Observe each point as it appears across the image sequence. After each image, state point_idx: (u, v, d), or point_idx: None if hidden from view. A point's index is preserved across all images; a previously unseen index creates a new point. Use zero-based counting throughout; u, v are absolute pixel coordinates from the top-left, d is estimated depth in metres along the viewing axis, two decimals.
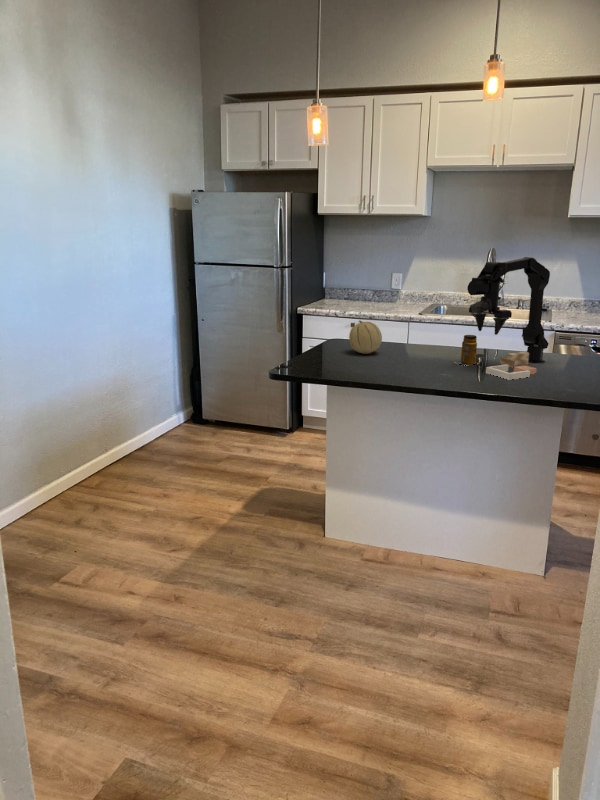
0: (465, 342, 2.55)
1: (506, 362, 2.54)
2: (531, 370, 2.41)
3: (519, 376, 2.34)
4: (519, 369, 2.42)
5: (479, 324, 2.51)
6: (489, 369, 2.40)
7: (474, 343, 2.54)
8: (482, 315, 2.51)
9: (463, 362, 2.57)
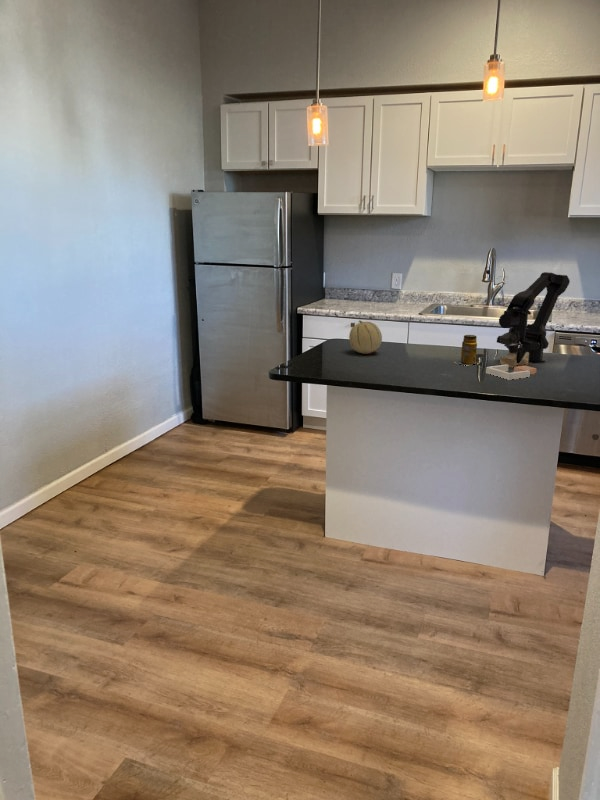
0: (465, 342, 2.55)
1: (506, 362, 2.54)
2: (531, 370, 2.40)
3: (519, 376, 2.34)
4: (519, 369, 2.42)
5: None
6: (489, 369, 2.40)
7: (474, 343, 2.54)
8: (515, 346, 2.57)
9: (463, 362, 2.57)
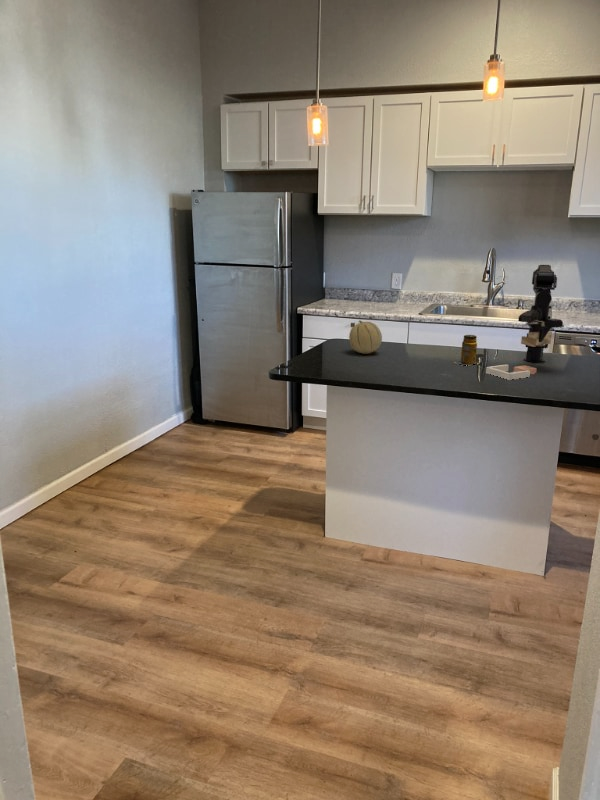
0: (465, 342, 2.55)
1: (527, 341, 2.46)
2: (531, 370, 2.40)
3: (519, 376, 2.34)
4: (519, 369, 2.42)
5: None
6: (489, 369, 2.40)
7: (474, 343, 2.54)
8: (537, 325, 2.48)
9: (463, 362, 2.57)
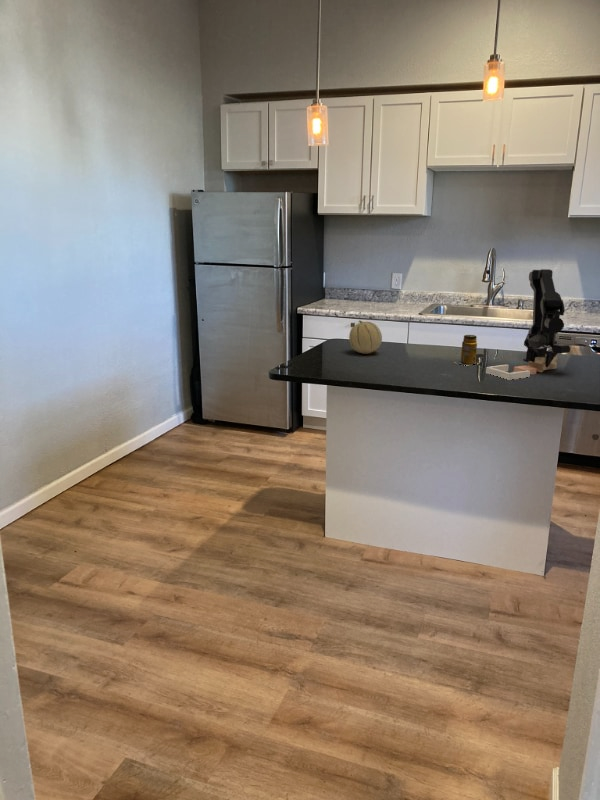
0: (465, 342, 2.55)
1: (534, 366, 2.45)
2: (531, 370, 2.40)
3: (519, 376, 2.34)
4: (519, 369, 2.42)
5: None
6: (489, 369, 2.40)
7: (474, 343, 2.54)
8: (544, 350, 2.48)
9: (463, 362, 2.57)
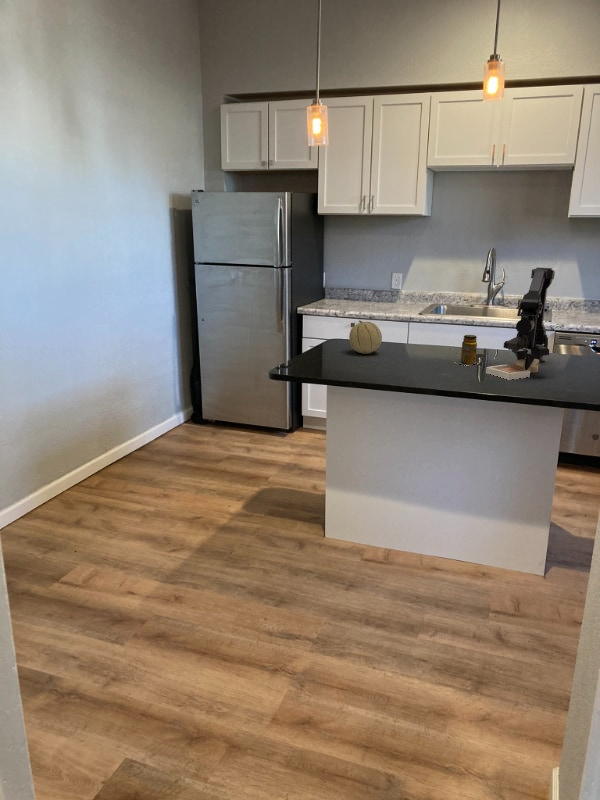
0: (465, 342, 2.55)
1: None
2: None
3: (519, 376, 2.34)
4: None
5: None
6: (489, 369, 2.40)
7: (474, 343, 2.54)
8: (523, 352, 2.43)
9: (463, 362, 2.57)
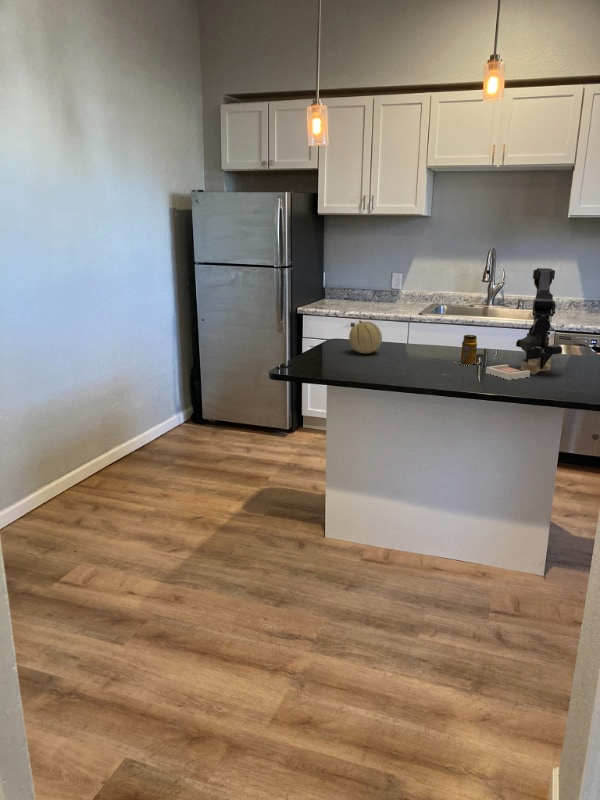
0: (465, 342, 2.55)
1: (527, 368, 2.44)
2: None
3: (519, 376, 2.34)
4: None
5: None
6: (489, 369, 2.40)
7: (474, 343, 2.54)
8: (533, 350, 2.47)
9: (463, 362, 2.57)
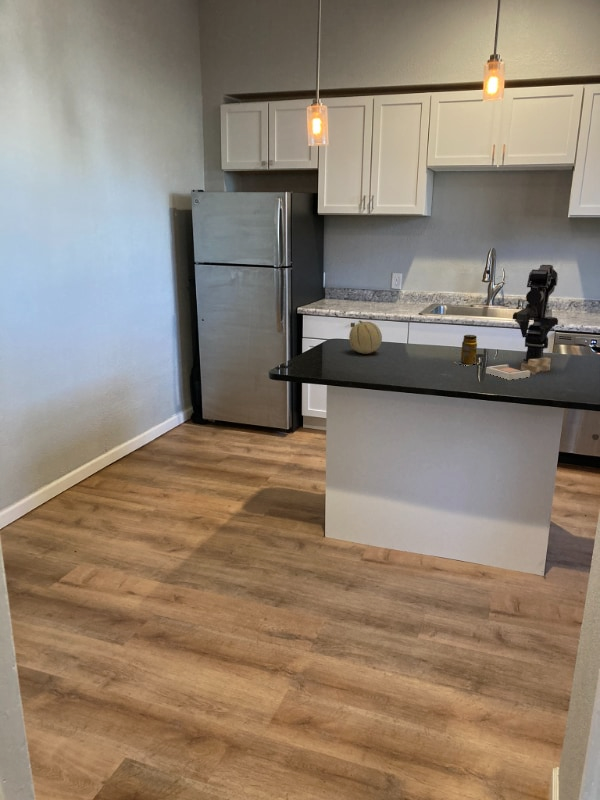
0: (465, 342, 2.55)
1: (527, 368, 2.44)
2: None
3: (519, 376, 2.34)
4: None
5: (523, 331, 2.53)
6: (489, 369, 2.40)
7: (474, 343, 2.54)
8: (526, 322, 2.53)
9: (463, 362, 2.57)
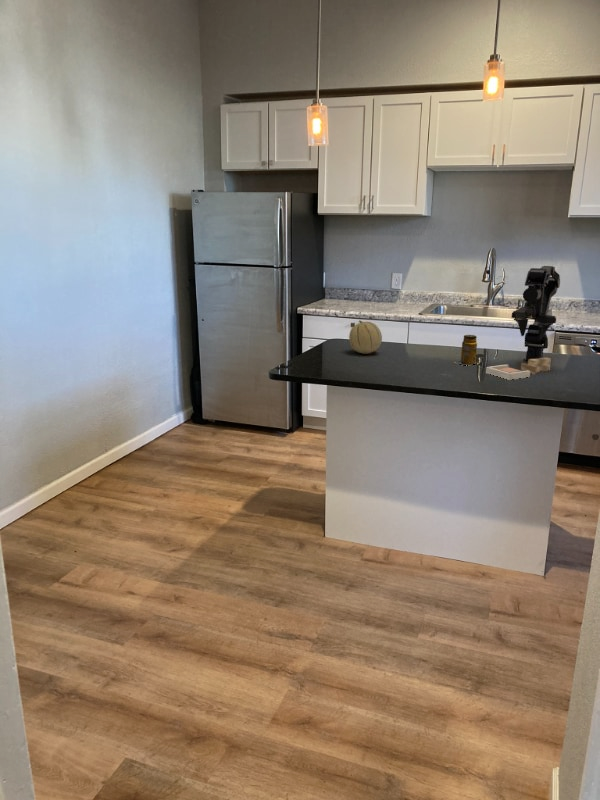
0: (465, 342, 2.55)
1: (527, 368, 2.44)
2: None
3: (519, 376, 2.34)
4: None
5: (522, 329, 2.54)
6: (489, 369, 2.40)
7: (474, 343, 2.54)
8: (525, 320, 2.54)
9: (463, 362, 2.57)
